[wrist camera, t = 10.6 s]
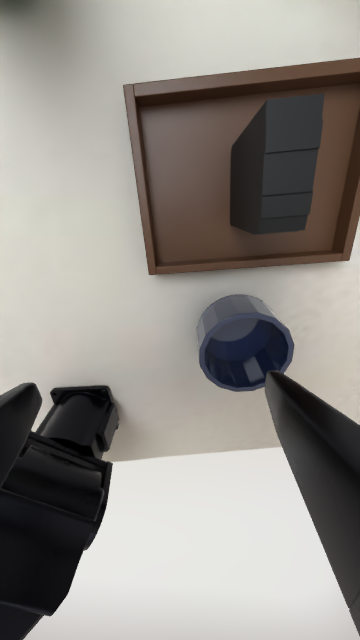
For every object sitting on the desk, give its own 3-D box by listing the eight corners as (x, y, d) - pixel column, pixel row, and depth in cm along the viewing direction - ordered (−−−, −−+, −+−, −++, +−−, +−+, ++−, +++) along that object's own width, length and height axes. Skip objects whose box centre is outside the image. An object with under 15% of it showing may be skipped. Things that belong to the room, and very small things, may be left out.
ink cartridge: (259, 223, 18) (309, 233, 11) (229, 225, 18) (259, 236, 11) (264, 144, 16) (332, 89, 9) (230, 147, 16) (268, 96, 9)
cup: (198, 364, 24) (201, 393, 21) (195, 297, 21) (197, 316, 17) (271, 360, 24) (287, 389, 20) (279, 291, 21) (299, 310, 17)
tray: (152, 268, 20) (148, 275, 18) (130, 99, 15) (122, 84, 13) (333, 255, 19) (349, 260, 17) (370, 73, 15) (397, 52, 13)
